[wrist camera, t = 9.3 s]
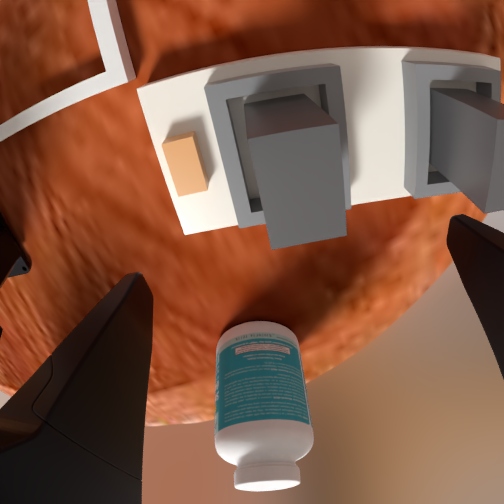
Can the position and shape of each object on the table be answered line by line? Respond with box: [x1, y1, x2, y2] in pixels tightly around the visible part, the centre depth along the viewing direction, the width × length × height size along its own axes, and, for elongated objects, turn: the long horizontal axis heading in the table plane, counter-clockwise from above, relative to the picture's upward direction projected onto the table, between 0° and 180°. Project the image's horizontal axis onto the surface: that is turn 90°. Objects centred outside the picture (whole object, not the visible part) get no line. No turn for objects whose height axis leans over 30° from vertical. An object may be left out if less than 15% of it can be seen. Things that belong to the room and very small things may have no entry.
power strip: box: [137, 46, 501, 235], centre depth 16 cm, size 21×9×4 cm, turn 101°
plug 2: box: [429, 88, 504, 213], centre depth 13 cm, size 3×4×6 cm, turn 11°
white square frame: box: [0, 0, 136, 142], centre depth 11 cm, size 15×13×2 cm
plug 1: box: [244, 93, 347, 250], centre depth 14 cm, size 3×4×6 cm, turn 12°
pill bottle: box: [215, 321, 314, 491], centre depth 24 cm, size 8×7×14 cm
